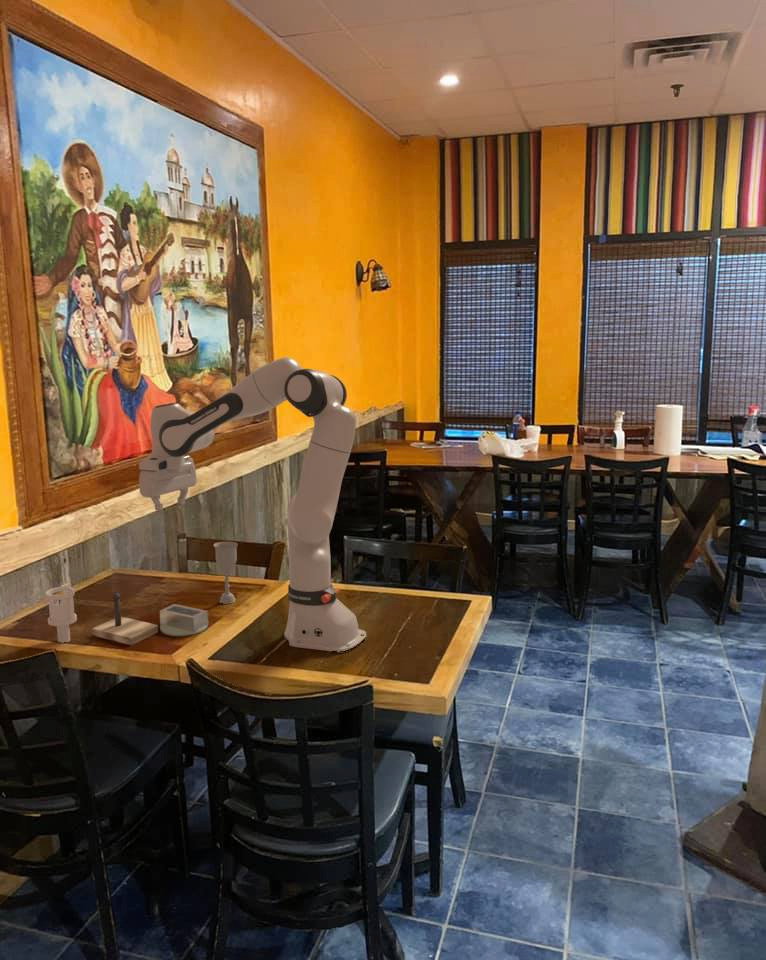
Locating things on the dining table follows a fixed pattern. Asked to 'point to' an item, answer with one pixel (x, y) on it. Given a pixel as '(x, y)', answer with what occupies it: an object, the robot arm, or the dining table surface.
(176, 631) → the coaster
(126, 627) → the stand
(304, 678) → the dining table surface
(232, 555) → the chalice
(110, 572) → the dining table surface
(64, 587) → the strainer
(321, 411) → the robot arm
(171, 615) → the grey hollow block
